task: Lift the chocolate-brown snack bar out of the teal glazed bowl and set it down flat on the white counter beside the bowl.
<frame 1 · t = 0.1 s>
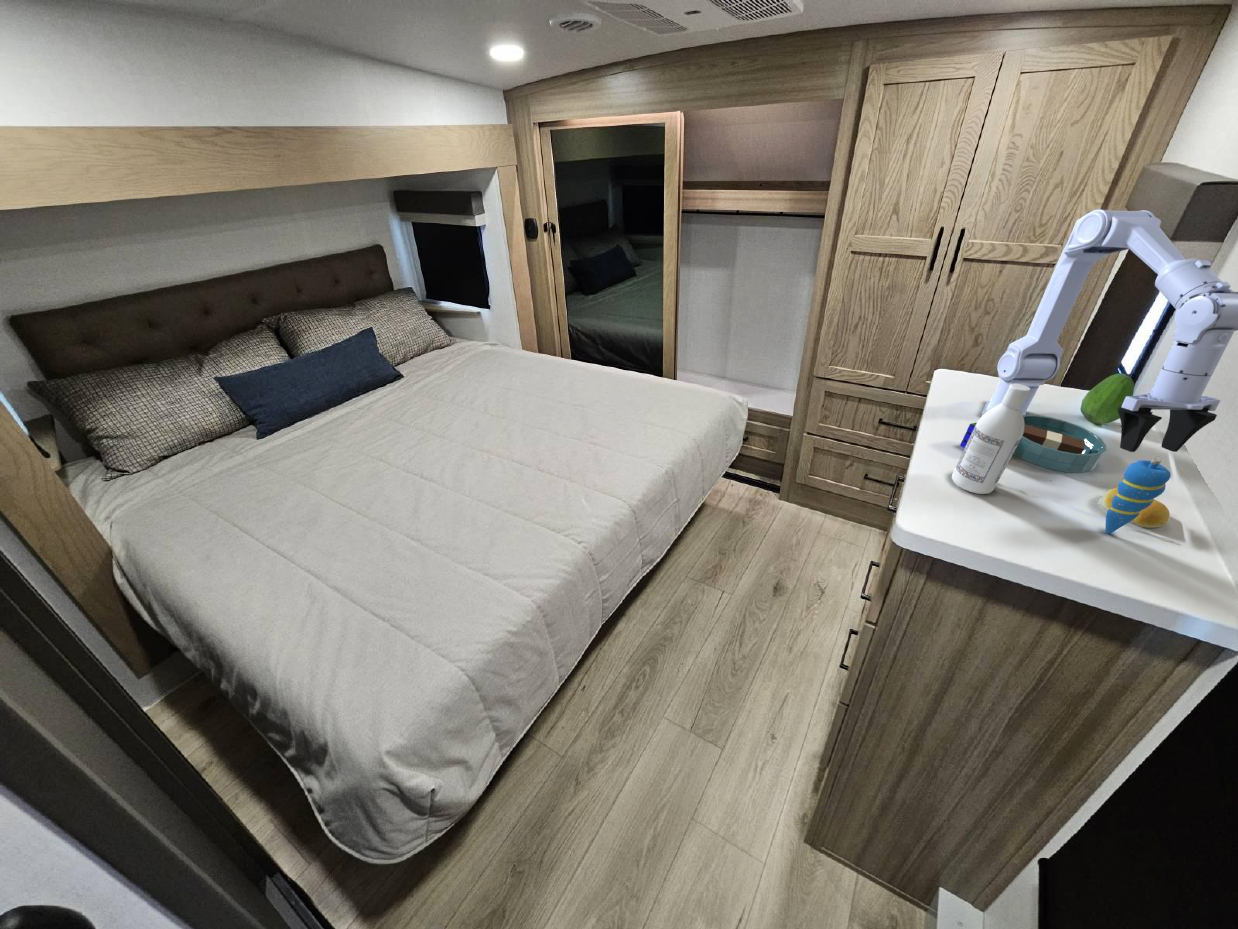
hand: (1148, 449, 88), 11 cm above the dresser, tool pointing down, fingers open, 7 cm apart
bread roll: (1127, 514, 90), on the dresser
avocado: (1094, 422, 118), on the dresser
puzzle toy: (980, 452, 106), on the dresser
ornament: (1105, 533, 86), on the dresser
bowl: (1044, 452, 106), on the dresser
bath foam: (971, 484, 96), on the dresser
snack bar: (1046, 450, 106), point 1 cm above the dresser, touching bowl
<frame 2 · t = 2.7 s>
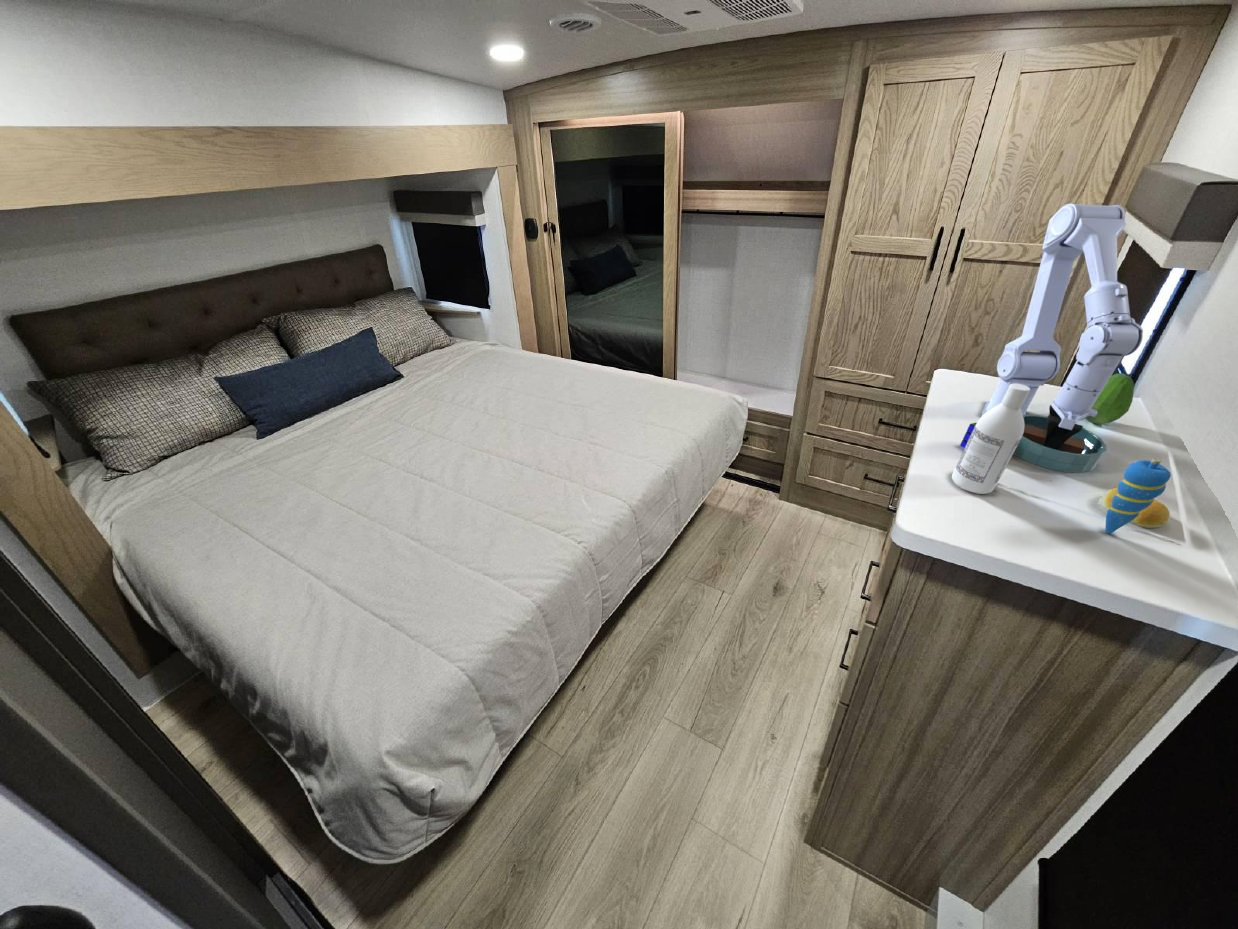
hand: (1048, 445, 105), 2 cm above the dresser, tool pointing down, fingers closed on snack bar, 4 cm apart
snack bar: (1046, 450, 106), point 1 cm above the dresser, touching bowl, gripper
everything else where it was.
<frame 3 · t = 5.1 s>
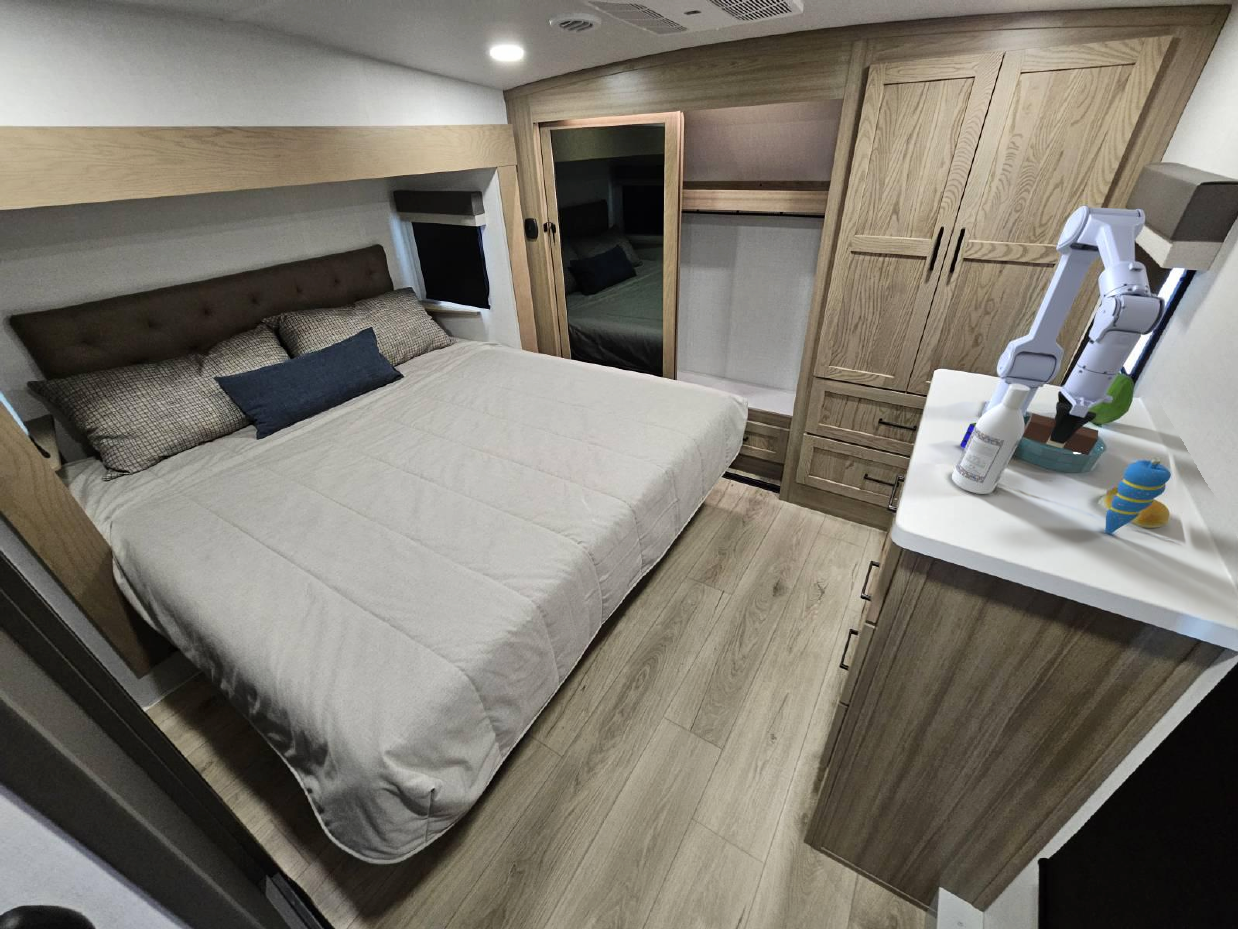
hand: (1057, 436, 95), 9 cm above the dresser, tool pointing down, fingers closed on snack bar, 4 cm apart
snack bar: (1054, 441, 95), point 7 cm above the dresser, touching gripper
everything else where it was.
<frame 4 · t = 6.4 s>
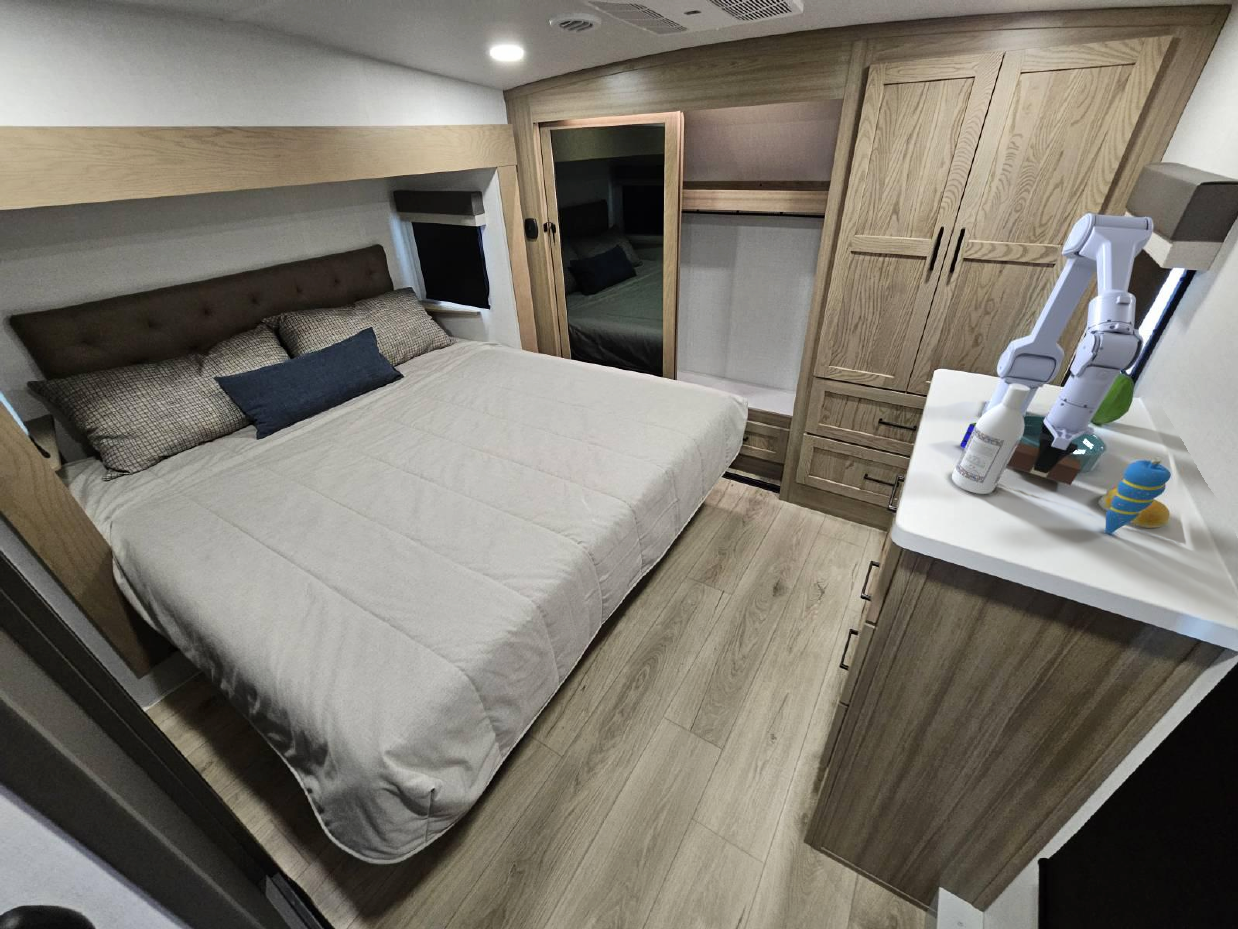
hand: (1041, 465, 97), 3 cm above the dresser, tool pointing down, fingers closed on snack bar, 4 cm apart
snack bar: (1038, 470, 97), point 2 cm above the dresser, touching gripper
everything else where it was.
when the fingers open (1 cm above the dresser, at t = 7.5 s): snack bar stays where it is, on the dresser.
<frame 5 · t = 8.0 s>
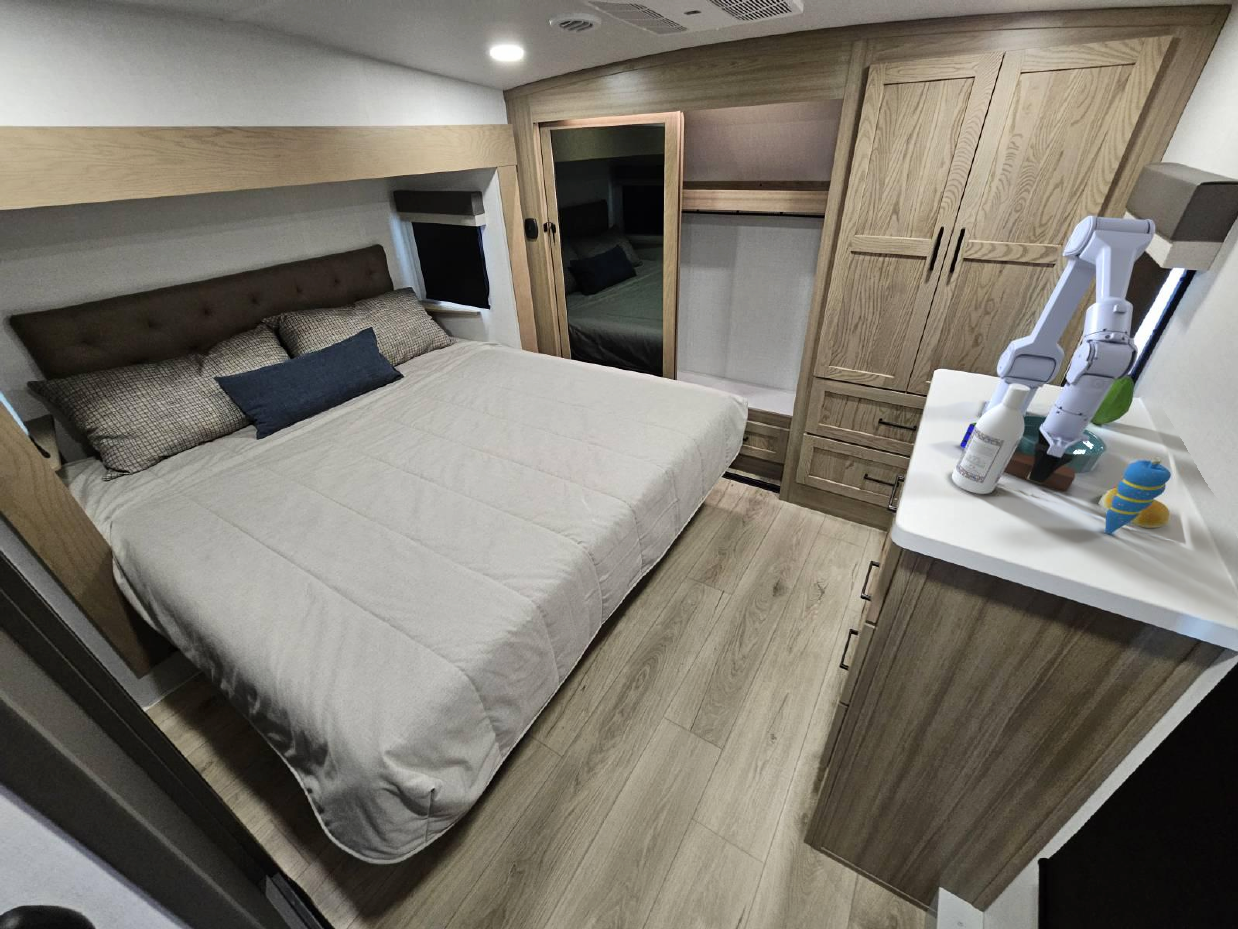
hand: (1037, 472, 97), 1 cm above the dresser, tool pointing down, fingers open, 7 cm apart
snack bar: (1033, 478, 98), on the dresser
everything else where it was.
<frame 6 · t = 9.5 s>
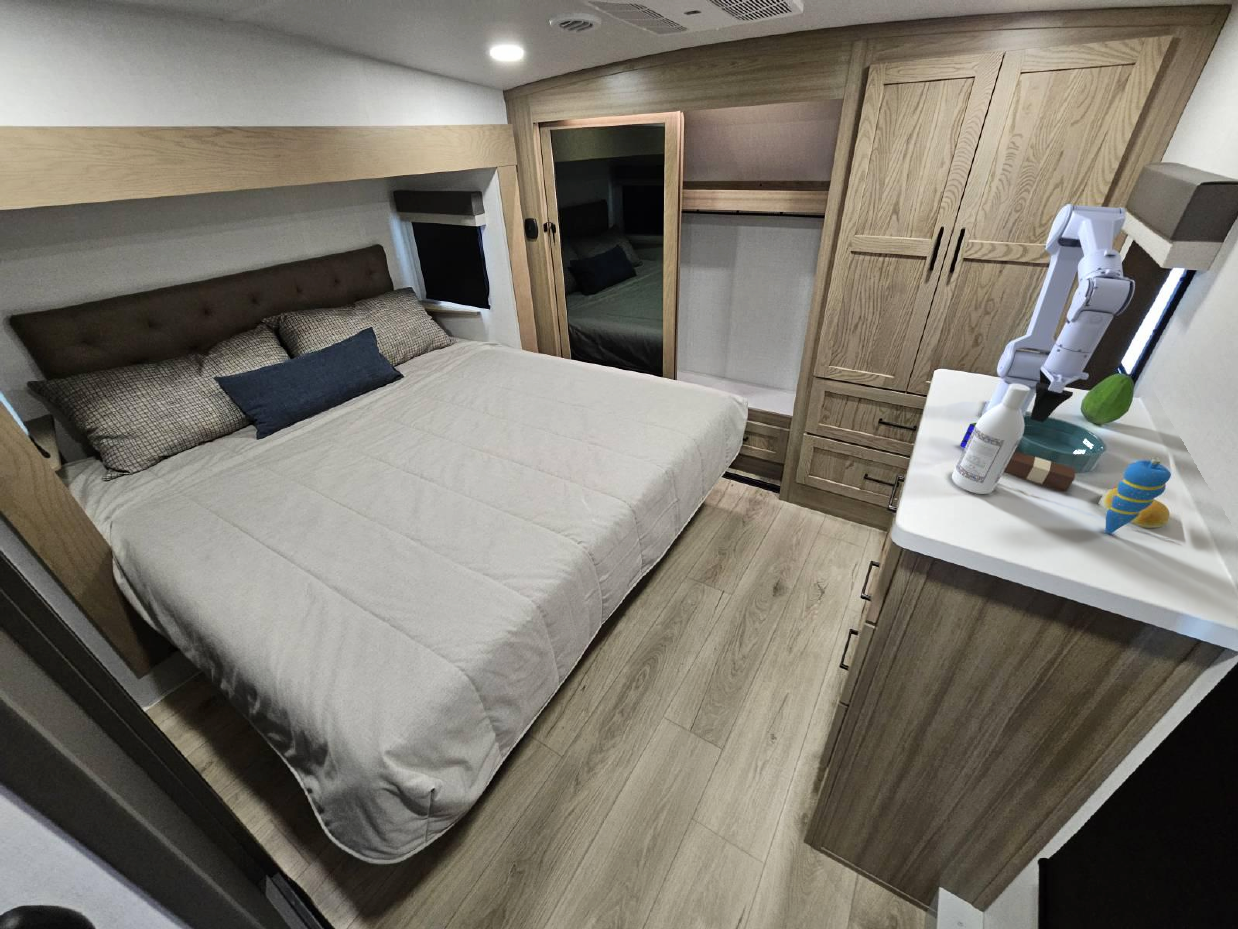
hand: (1038, 412, 101), 9 cm above the dresser, tool pointing down, fingers open, 7 cm apart
nothing on the dresser moved.
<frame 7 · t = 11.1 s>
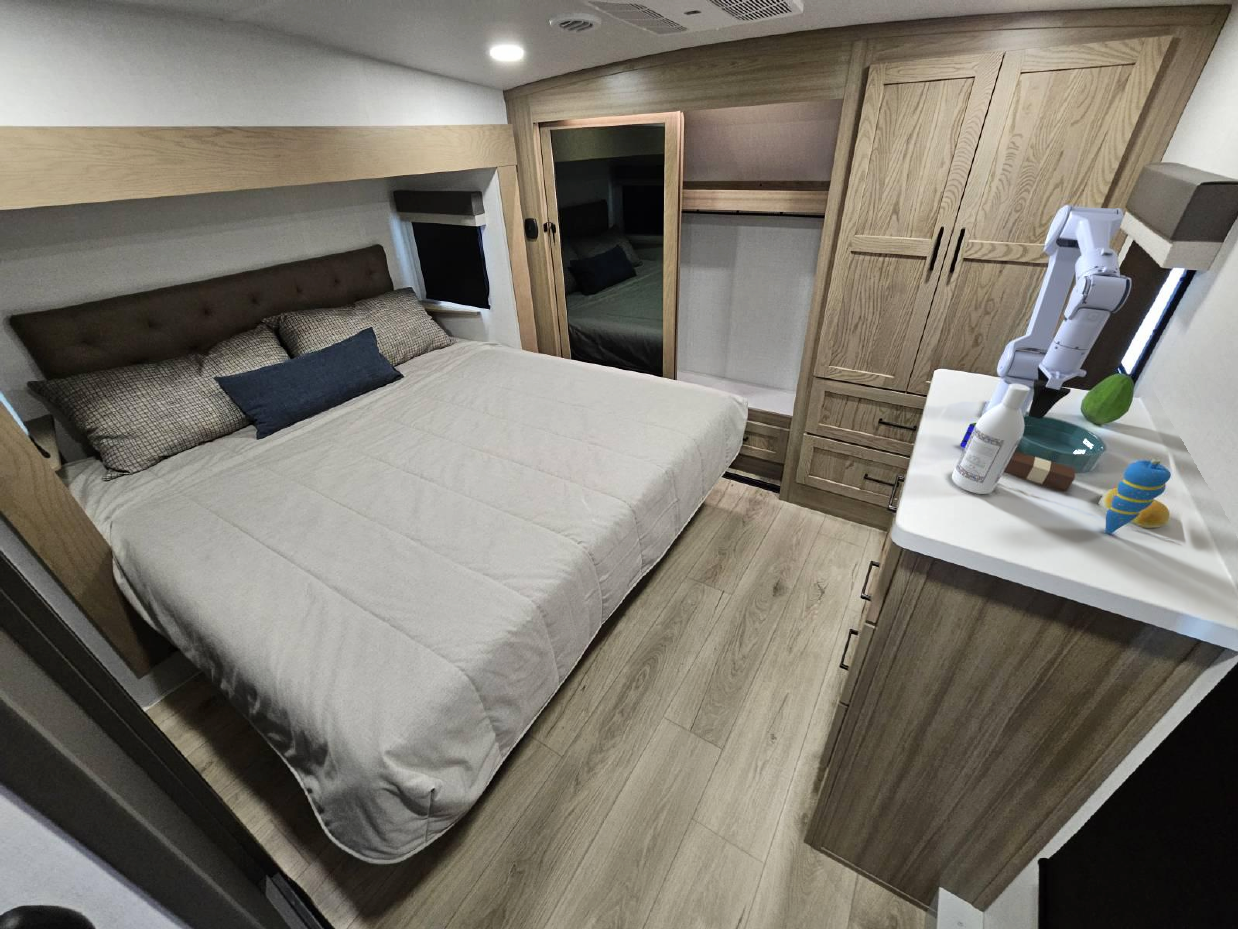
hand: (1036, 410, 102), 9 cm above the dresser, tool pointing down, fingers open, 7 cm apart
nothing on the dresser moved.
at the end: snack bar inside the target area (0.0 cm from its centre), on the dresser; snack bar tilted 0°; the gripper is holding nothing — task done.
